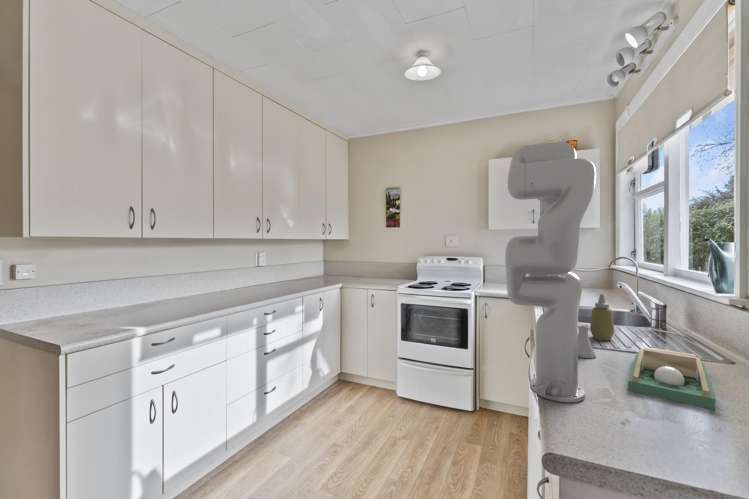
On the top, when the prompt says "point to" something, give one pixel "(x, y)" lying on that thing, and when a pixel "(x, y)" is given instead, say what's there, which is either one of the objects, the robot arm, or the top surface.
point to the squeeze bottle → (602, 320)
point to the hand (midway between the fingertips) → (552, 271)
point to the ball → (669, 376)
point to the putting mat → (691, 393)
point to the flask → (584, 343)
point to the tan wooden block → (670, 361)
